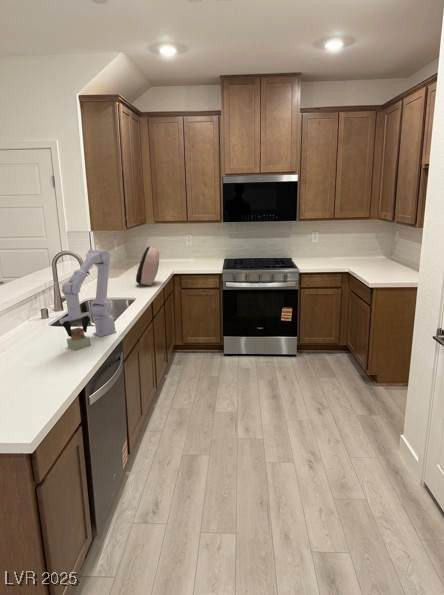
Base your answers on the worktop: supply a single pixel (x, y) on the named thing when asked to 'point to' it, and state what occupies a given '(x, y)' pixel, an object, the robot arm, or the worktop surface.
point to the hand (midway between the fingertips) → (77, 334)
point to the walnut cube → (77, 333)
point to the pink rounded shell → (148, 266)
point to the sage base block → (78, 343)
